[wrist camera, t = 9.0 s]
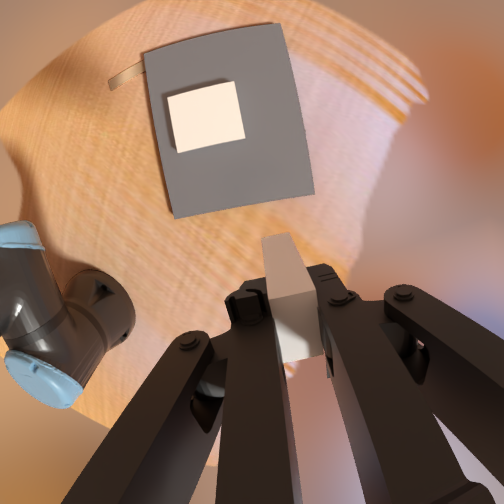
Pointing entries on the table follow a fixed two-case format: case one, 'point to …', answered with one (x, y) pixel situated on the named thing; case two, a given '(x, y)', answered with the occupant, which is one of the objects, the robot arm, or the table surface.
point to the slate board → (253, 117)
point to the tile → (206, 117)
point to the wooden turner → (127, 75)
